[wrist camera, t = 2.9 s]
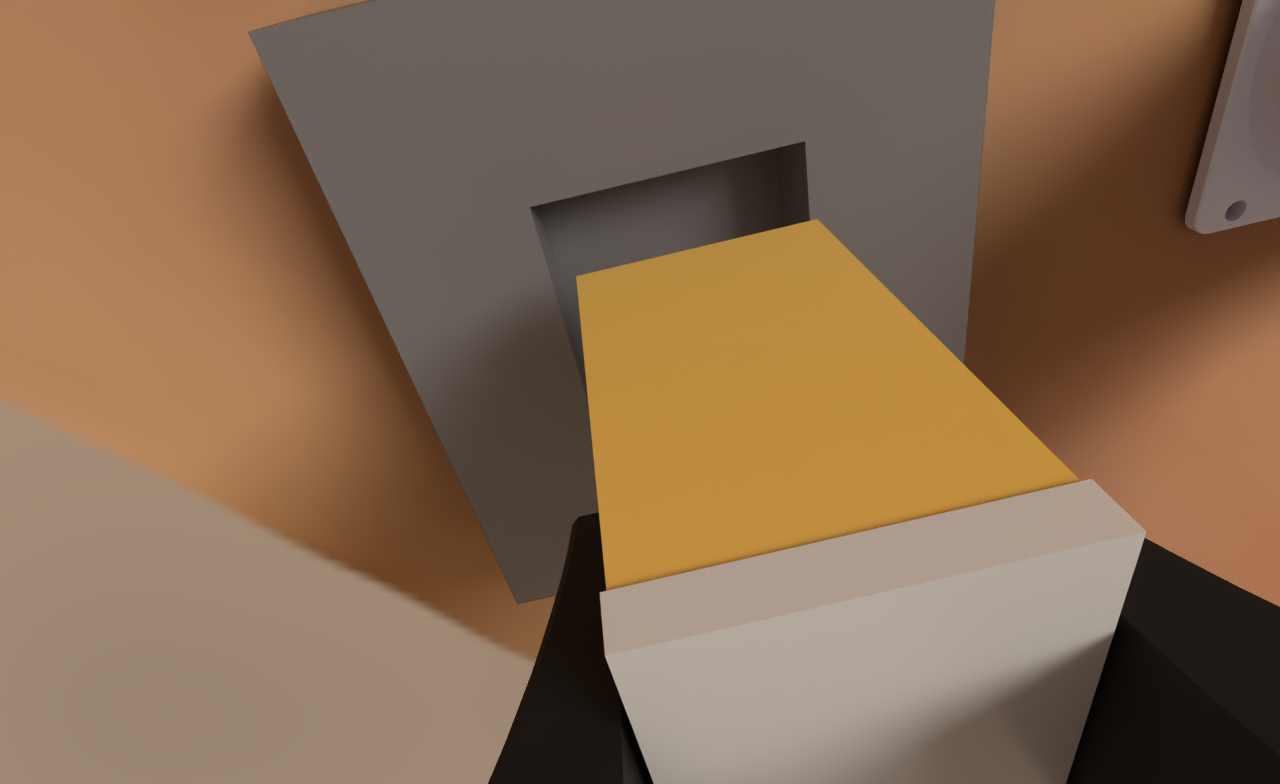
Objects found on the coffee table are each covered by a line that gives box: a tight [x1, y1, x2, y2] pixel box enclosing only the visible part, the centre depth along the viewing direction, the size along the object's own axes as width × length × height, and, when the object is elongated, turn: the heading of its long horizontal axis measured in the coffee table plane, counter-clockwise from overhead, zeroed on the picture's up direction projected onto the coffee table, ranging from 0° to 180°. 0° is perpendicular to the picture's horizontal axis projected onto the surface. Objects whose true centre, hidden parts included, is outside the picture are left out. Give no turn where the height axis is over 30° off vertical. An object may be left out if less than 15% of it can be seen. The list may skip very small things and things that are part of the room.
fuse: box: [576, 219, 1146, 784], centre depth 10 cm, size 4×6×7 cm
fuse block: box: [248, 0, 995, 604], centre depth 15 cm, size 12×14×3 cm
